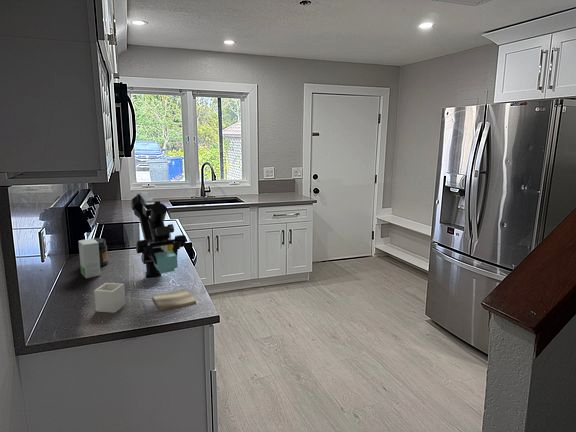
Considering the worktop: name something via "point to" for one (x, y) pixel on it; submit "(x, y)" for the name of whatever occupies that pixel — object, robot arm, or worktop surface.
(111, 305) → the cream storage box
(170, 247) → the supplement bottle
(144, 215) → the robot arm
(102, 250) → the supplement container
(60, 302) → the worktop surface
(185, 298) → the oak board
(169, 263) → the aqua cube
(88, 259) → the skincare box
